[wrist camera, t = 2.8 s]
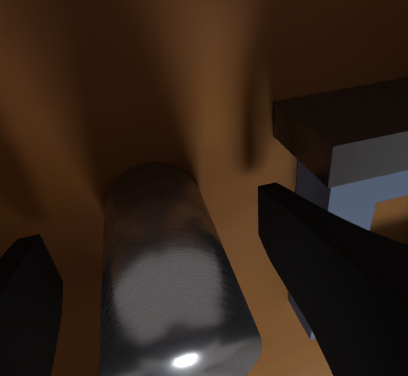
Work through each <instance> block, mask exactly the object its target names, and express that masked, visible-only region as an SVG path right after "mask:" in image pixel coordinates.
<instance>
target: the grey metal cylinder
mask: <svg viewBox="0 0 408 376" xmlns="http://www.w3.org/2000/svg"><path fill="white" fill-rule="evenodd" d="M261 348H262V341H261V337H260V334H259V331H258V329H257V327H256V324H255V322H254V319H253V317H252V315H251V312H250V310H249V307H248V305H247V303H246V300H245V298H244V296H243V293H242V291H241V288H240V286H239V284H238V281H237V279H236V276H235V274H234V272H233V269H232V267H231V265H230V262H229V260H228V257H227V255H226V253H225V250H224V248H223V245H222V243H221V241H220V238H219V236H218V233H217V231H216V229H215V226H214V224H213V222H212V219H211V217H210V214H209V212H208V210H207V207H206V205H205V202H204V200H203V198H202V195H201V193H200V191H199V188H198V186H197V184H196V182H195V180H194V179H193V178H192V177H191V176H190V175H189V174H188V173H187V172H185V171H184V170H183V169H181V168H179V167H177V166H174V165H171V164H166V163H146V164H142V165H138V166H135V167H133V168H131V169H129V170H127V171H125V172H124V173H122V174H121V175H120V176H119V177H118V178H116V179H115V181H114V182H113V183H112V184H111V186H110V188H109V189H108V192H107V194H106V198H105V206H104V239H103V271H102V304H101V337H100V370H99V376H246V375H247V374H248V373H249V372H250V370H251V369H252V368H253V367H254V365H255V364H256V362H257V360H258V358H259V356H260V353H261Z"/></svg>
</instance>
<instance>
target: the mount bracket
mask: <svg viewBox="0 0 408 376" xmlns="http://www.w3.org/2000/svg"><path fill="white" fill-rule="evenodd" d="M273 136H274V137H275V138H276V139H277V140H278V141H279V142H280V143H281V144H282V145H283V146H284V147H285V148H286V149H287V150H288V151H290V152H291V153H292V154H293V155H294V156H295V157H296V158H297V159H298V160H299V161H300V162H301V163H302V164H303V165H304V166H305V167H306V168H307V169H308V170H309V171H310V172H311V173H312V174H314V175H315V176H316V177H317V178H318V179H319V180H320V181H321V182H322V183H323V184H324V185H325V186H326V187H327V188H331V187H336V186H340V185H344V184H349V183H353V182H358V181H362V180H366V179H371V178H375V177H380V176H384V175H388V174H393V173H397V172H402V171H406V170H408V78H404V79H399V80H393V81H388V82H382V83H377V84H371V85H366V86H360V87H355V88H349V89H344V90H338V91H333V92H327V93H322V94H316V95H311V96H305V97H300V98H294V99H289V100H283V101H278V102H274V124H273Z"/></svg>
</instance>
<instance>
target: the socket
mask: <svg viewBox="0 0 408 376" xmlns="http://www.w3.org/2000/svg"><path fill="white" fill-rule="evenodd" d="M296 194H298V195H300V196H302V197H303V198H305V199H307V200H309V201H310V202H312V203H314V204H316V205H318V206H320V207H321V208H323V209H325V210H327V211H329V212H331V213H333V214H335V215H337V216H339V217H341V218H343V219H345V220H347V221H349V222H351V223H353V224H356V225H358V226H360V227H362V228H364V229H367V230H369V231H370V227H371V222H372V218H373V214H374V209H375V205H376V203H377V202H381V201H385V200H389V199H393V198H398V197H402V196H406V195H408V170H406V171H402V172H397V173H393V174H388V175H384V176H380V177H375V178H371V179H366V180H362V181H358V182H353V183H349V184H344V185H340V186H336V187H331V188H327V187H326V186H325V185H324V184H323V183H322V182H321V181H320V180H319V179H318V178H317V177H316V176H315V175H314V174H312V173H311V172H310V171H309V170H308V169H307V168H306V167H305V166H304V165H303V164H302V163H301V162H300V161H299V160H298V168H297V183H296ZM289 302H290V304H291V306H292V308H293V310H294V311H295V313H296V315H297V317H298V319H299V320H300V322H301V324H302V326H303V328H304V329H305V331H306V333H307V335H308V337H309V339H310V340H312V339H315V336H314V334H313V332H312V330H311V328H310V326H309V324H308V322H307V321H306V319H305V317H304V315H303V314H302V312H301V310H300V309H299V307H298V306H297V304H296V302H295V301H294V299H293V297H292V296H291V294H290V293H289Z"/></svg>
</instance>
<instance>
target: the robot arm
mask: <svg viewBox="0 0 408 376" xmlns="http://www.w3.org/2000/svg"><path fill="white" fill-rule="evenodd" d="M258 234H259V237H260V239H261V241H262V244H263V246H264V248H265V251H266V253H267V255H268V257H269V259H270V261H271V263H272V265H273V266H274V268H275V270H276V271H277V273H278V275H279V276H280V278H281V279H282V281H283V283H284V284H285V286H286V288H287V289H288V291H289V293H290V294H291V296H292V297H293V299H294V301H295V302H296V304H297V306H298V307H299V309H300V310H301V312H302V314H303V315H304V317H305V319H306V321H307V322H308V324H309V326H310V328H311V330H312V332H313V334H314V336H315V338H316V340H317V342H318V344H319V346H320V348H321V350H322V352H323V354H324V356H325V358H326V361H327V363H328V365H329V367H330V369H331V371H332V374H333V376H408V245H405V244H402V243H399V242H397V241H394V240H391V239H389V238H386V237H384V236H381V235H379V234H376V233H374V232H371V231H369V230H367V229H364V228H362V227H360V226H358V225H356V224H353V223H351V222H349V221H347V220H345V219H343V218H341V217H339V216H337V215H335V214H333V213H331V212H329V211H327V210H325V209H323V208H321V207H320V206H318V205H316V204H314V203H312V202H310V201H309V200H307V199H305V198H303V197H302V196H300V195H298V194H296V193H294V192H293V191H291V190H289V189H287V188H285V187H284V186H282V185H280V184H278V183H276V182H275V183H271V184H266V185H262V186H258ZM62 300H63V281H62V279H61V276H60V274H59V272H58V270H57V268H56V266H55V264H54V262H53V260H52V258H51V256H50V254H49V252H48V250H47V248H46V246H45V244H44V242H43V240H42V238H41V236H40V234H38V235H34V236H29V237H24V238H20V239H17V240H16V241H15V243H14V244H13V245H12V246H11V247H10V248H9V249H8V250H7V251H6V252H5V253H4V255H3V256H2V257H1V258H0V376H51V373H52V367H53V362H54V356H55V350H56V345H57V339H58V333H59V327H60V321H61V315H62Z"/></svg>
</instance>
